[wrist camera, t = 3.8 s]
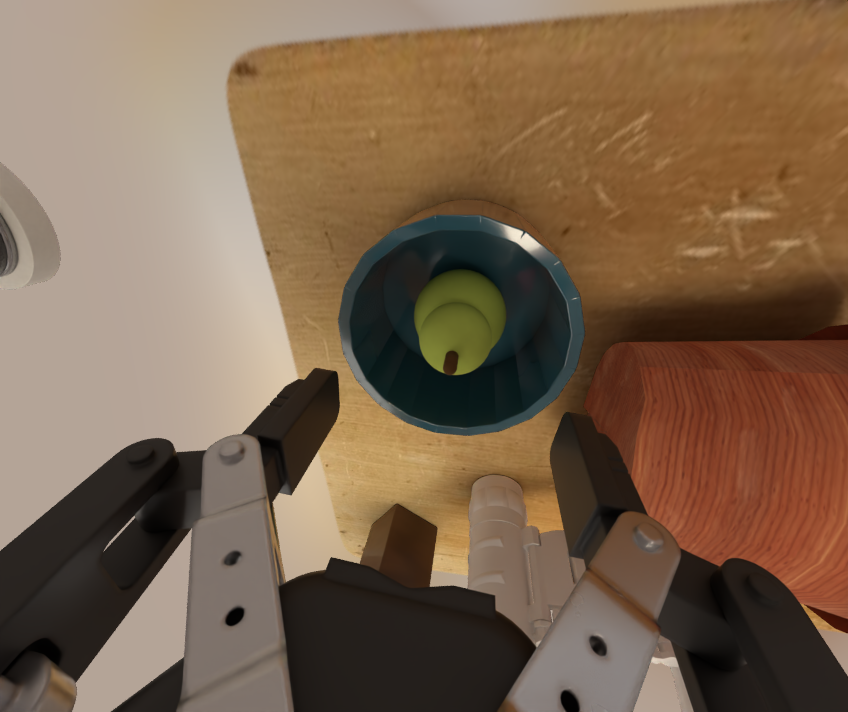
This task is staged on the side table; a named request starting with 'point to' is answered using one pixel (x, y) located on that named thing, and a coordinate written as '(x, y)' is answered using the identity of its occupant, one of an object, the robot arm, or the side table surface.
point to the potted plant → (740, 451)
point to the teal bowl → (510, 357)
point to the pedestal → (401, 547)
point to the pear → (459, 320)
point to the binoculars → (529, 566)
